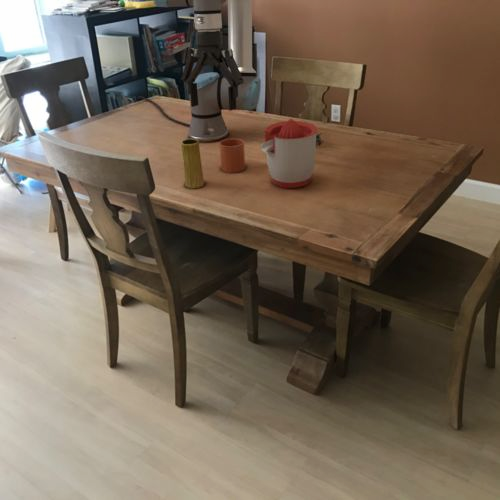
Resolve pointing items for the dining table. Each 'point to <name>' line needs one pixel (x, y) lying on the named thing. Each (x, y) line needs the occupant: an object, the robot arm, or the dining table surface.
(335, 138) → the dining table surface
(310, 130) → the citrus juicer
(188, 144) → the vase
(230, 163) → the terracotta cup
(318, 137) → the rhino figurine
